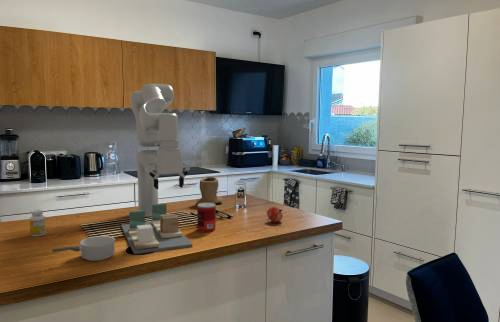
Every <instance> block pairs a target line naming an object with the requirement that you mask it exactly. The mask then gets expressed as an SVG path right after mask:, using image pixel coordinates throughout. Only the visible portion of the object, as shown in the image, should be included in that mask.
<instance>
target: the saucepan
mask: <svg viewBox="0 0 500 322" xmlns="http://www.w3.org/2000/svg"><path fill="white" fill-rule="evenodd" d="M115 241H116V238H115V237H113V236H109V235H97V236H91V237H85V238H84V239H81V240H80V241H79V245H75V246H66V247H65V246H64V247H59V248H53V249H52V251H51V252H52V253H57V252H64V251H73V252H76V253H77V252H80V255H81V258H82V259H84V260H87V261H91V262H96V261H103V260H106V259H109V258H110V257H112V256H114V254H115Z"/></svg>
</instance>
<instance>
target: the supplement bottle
mask: <svg viewBox="0 0 500 322" xmlns="http://www.w3.org/2000/svg"><path fill="white" fill-rule="evenodd" d="M43 214H44V210H42V209H35V210H32V211H31V216H30V217H29V228H30V229H29V230H30V236H32V237H40V236H45V235H46V233H47V232H46V216H45V215H43Z"/></svg>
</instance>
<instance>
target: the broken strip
mask: <svg viewBox="0 0 500 322" xmlns="http://www.w3.org/2000/svg"><path fill="white" fill-rule="evenodd" d="M128 213H129V214H128V216H129V217H128V218H129V223H128V224H130V229H128V233H129V235H130V236H131V239H132V241H133V243H134V245H135V247H136V249H145V248H152V247H159V242H158V241H157V239H156V238H155V237H154V235H153V241H150V242H141V243H139V241H138V240H137V226H139V225H145V222H146V217H145V210H139V211H137V210H131V211H129V212H128ZM133 235H134V236H133Z"/></svg>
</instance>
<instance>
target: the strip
mask: <svg viewBox="0 0 500 322" xmlns="http://www.w3.org/2000/svg"><path fill="white" fill-rule="evenodd" d="M166 214H167V203H158V204H152V216H151V219H152V220H150V222H151V224H152V226H153V227H154V228H155V230H156V231H157V232H158V234H159V235H160V236H161V238H169V237H177V236H182V234H183V232H182V230H180V229H179V232H173V233H164V234H163V232H162V231H161V230H160V215H166Z"/></svg>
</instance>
